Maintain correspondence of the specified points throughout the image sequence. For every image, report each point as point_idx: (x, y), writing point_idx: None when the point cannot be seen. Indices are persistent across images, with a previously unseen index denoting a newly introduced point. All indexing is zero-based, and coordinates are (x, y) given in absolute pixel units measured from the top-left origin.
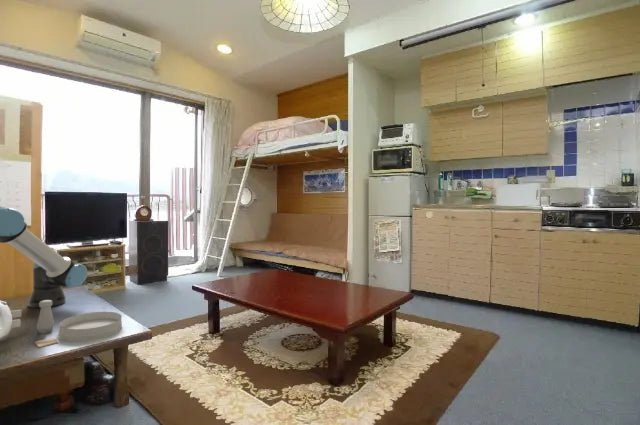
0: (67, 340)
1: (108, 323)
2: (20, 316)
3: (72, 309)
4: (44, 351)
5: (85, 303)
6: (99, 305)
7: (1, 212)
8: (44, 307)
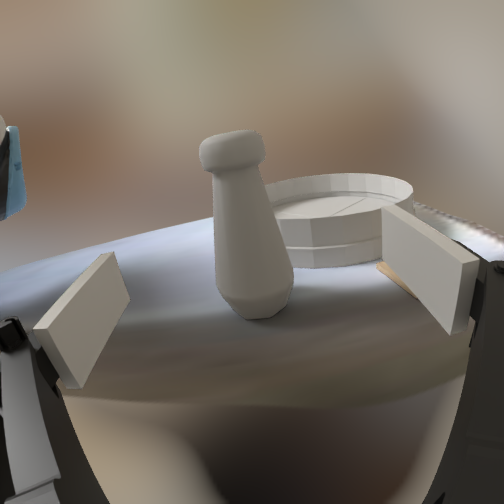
0: None
1: (297, 208)
2: (128, 301)
3: (50, 285)
4: (493, 259)
5: (34, 273)
6: (82, 253)
7: None
8: (259, 163)
